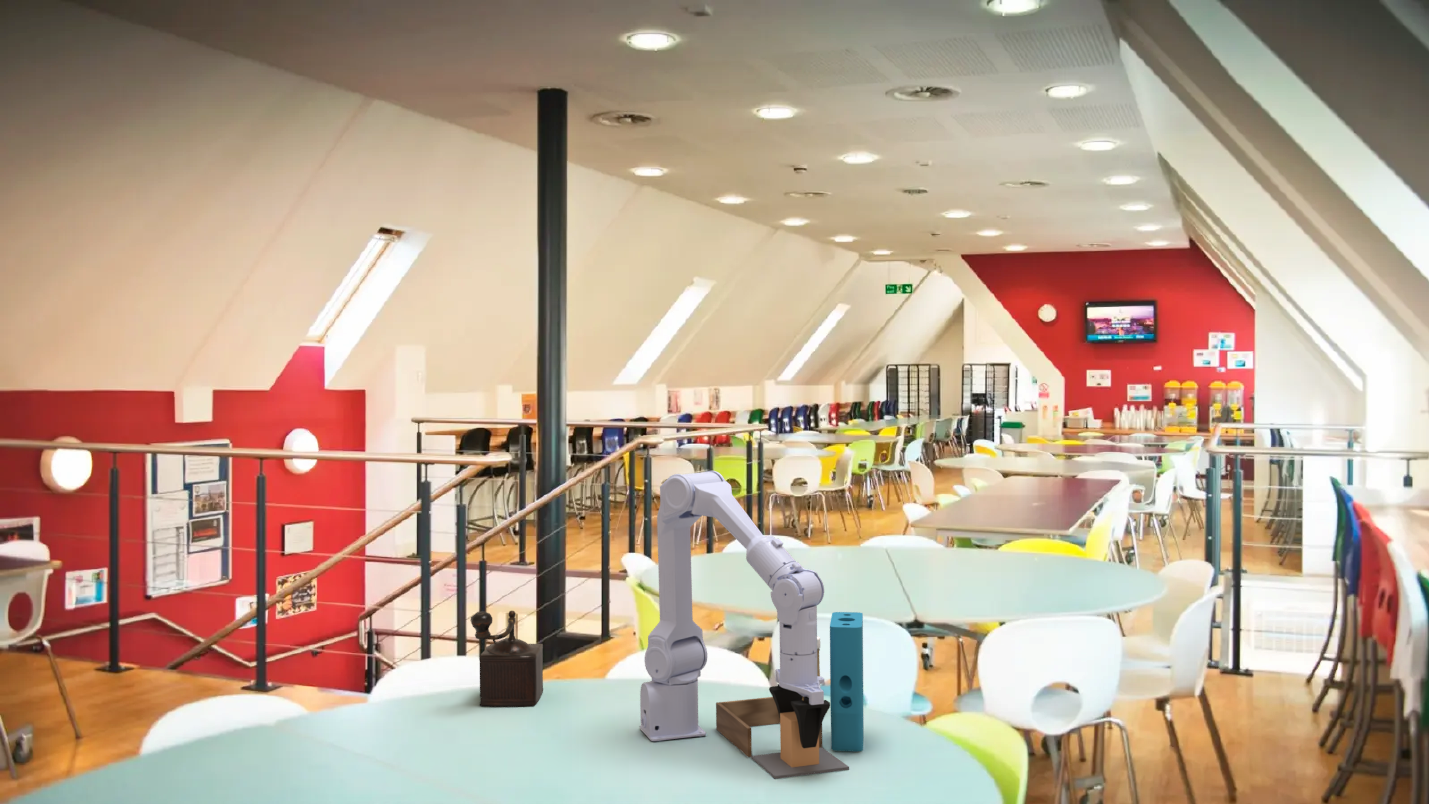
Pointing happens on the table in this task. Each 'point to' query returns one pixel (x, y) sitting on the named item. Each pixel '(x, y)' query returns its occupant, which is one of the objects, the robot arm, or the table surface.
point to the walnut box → (746, 720)
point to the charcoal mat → (782, 769)
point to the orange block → (795, 743)
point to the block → (846, 681)
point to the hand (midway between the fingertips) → (799, 739)
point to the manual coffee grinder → (508, 666)
